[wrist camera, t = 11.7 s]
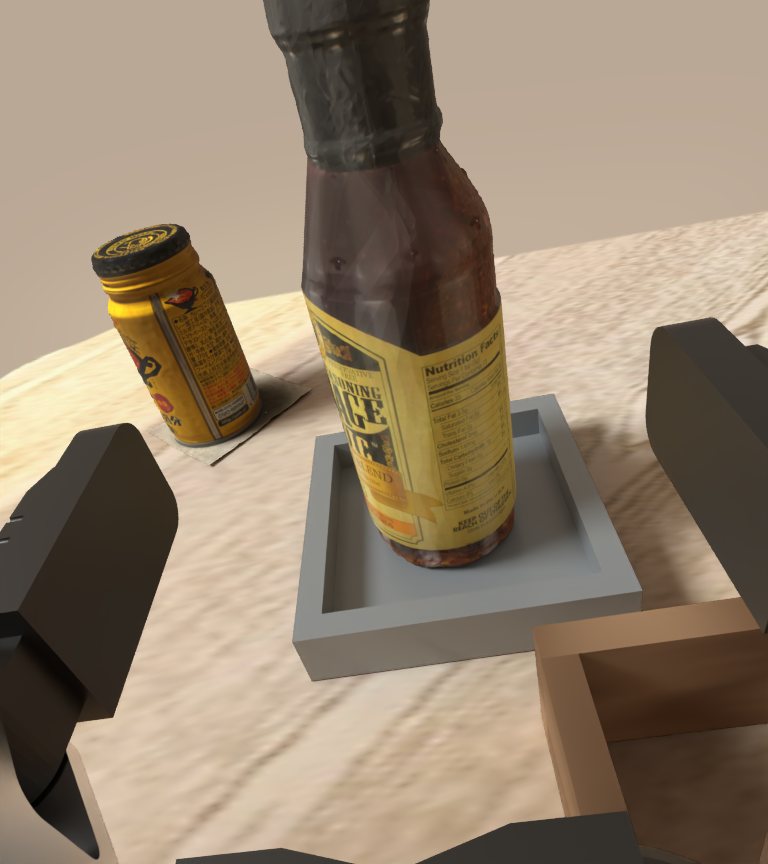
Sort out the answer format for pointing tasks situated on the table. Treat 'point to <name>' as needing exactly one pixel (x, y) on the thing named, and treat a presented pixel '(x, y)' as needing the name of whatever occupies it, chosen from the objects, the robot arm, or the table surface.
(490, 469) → the sauce bottle
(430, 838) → the table surface
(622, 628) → the holder
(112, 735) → the table surface
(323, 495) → the tray
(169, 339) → the condiment
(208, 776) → the table surface
